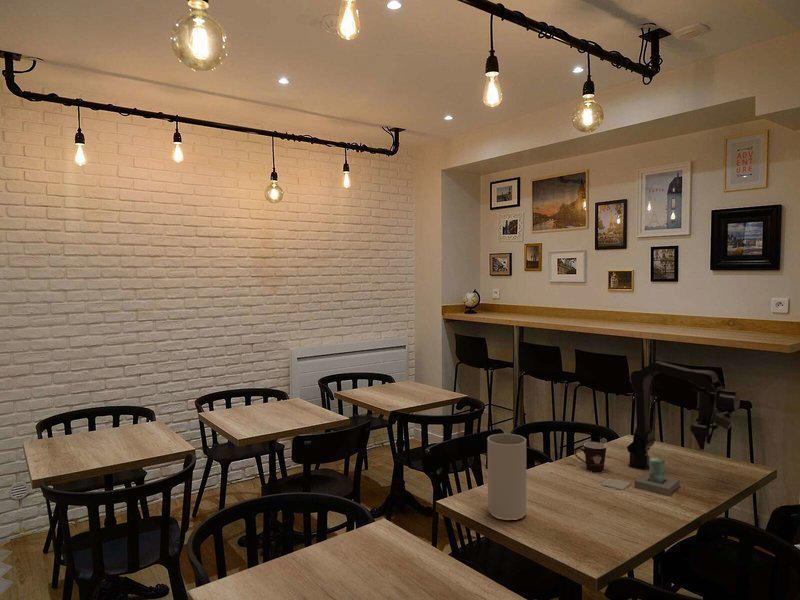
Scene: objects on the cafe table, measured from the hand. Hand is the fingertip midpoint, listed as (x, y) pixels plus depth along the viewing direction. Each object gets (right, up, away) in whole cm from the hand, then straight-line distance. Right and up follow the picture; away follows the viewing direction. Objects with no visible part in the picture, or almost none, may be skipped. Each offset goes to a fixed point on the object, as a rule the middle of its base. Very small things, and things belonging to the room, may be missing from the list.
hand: (705, 446), depth 204 cm
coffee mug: (-36, -14, +17) cm, 43 cm away
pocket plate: (-19, -14, -2) cm, 24 cm away
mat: (-33, -15, +1) cm, 36 cm away
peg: (-19, -14, -2) cm, 24 cm away
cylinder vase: (-78, -16, -23) cm, 83 cm away
